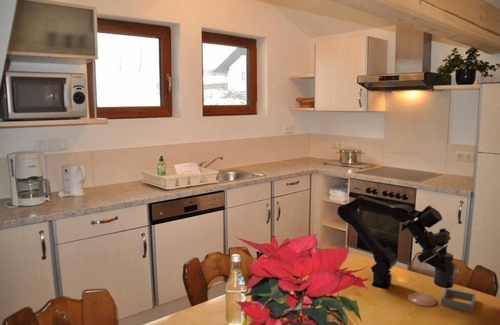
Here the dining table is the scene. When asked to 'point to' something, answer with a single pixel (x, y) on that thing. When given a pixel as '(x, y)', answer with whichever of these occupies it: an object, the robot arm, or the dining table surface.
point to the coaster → (422, 299)
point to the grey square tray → (455, 303)
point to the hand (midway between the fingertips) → (448, 269)
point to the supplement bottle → (448, 277)
